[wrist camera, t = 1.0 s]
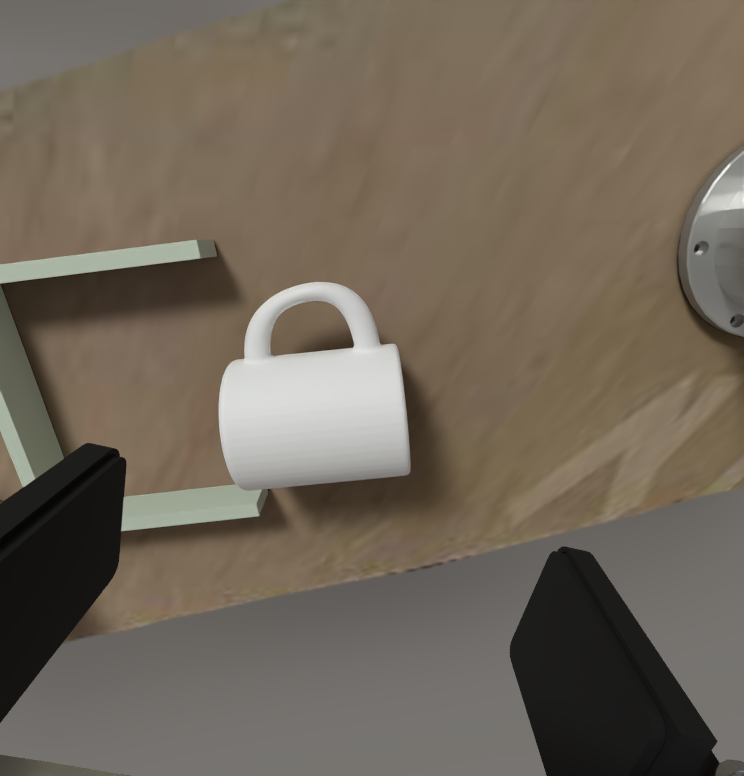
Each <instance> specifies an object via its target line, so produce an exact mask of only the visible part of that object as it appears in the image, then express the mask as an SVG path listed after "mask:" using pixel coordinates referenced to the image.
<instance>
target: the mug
mask: <svg viewBox="0 0 744 776" xmlns="http://www.w3.org/2000/svg"><path fill="white" fill-rule="evenodd" d="M309 301H325V302H328V303H331V304H333V305H334V306H335V307H337V308H338V309H339V310H340V312H341V313H342V314H343V316H344V317H345V319H346V321H347V323H348V326H349V328H350V331H351V334H352V338H353V342H354V347H353V348H345V349H336V350H326V351H316V352H307V353H297V354H287V355H277V356H273V355H272V354H271V352H270V342H271V333H272V329H273V326H274V323H275V321H276V320H277V318H278V317H279V315H280V314H281V313H282V312H283V311H285V310H286V309H288V308H290V307H292V306H294V305H297V304H300V303H304V302H309ZM244 354H245V358H244V359H239V360H234V361H233V362H231V363H230V364H229V365H228V367H227V368H226V370H225V373H224V375H223V379H222V383H221V388H220V395H219V428H220V437H221V444H222V449H223V454H224V458H225V461H226V464H227V467H228V470H229V473H230V475H231V477H232V479H233V480H234V482H235V483H236V484H237V486H238V487H240V488H241V489H243V490H246V491H251V490H262V489H272V488H282V487H293V486H303V485H313V484H324V483H334V482H344V481H354V480H365V479H375V478H385V477H396V476H406V475H408V474H409V473H410V469H411V463H410V444H409V432H408V421H407V411H406V401H405V392H404V384H403V376H402V369H401V362H400V356H399V351H398V347H397V346H396V345H395V344H385V345H381V344H380V340H379V335H378V331H377V328H376V324H375V321H374V319H373V316H372V314H371V312H370V310H369V308H368V307H367V305H366V304H365V302H364V301H363V300H362V299H361V298H360V297H359V296H358V295H357V294H356V293H355V292H353V291H352V290H350V289H348V288H347V287H344V286H342V285H339V284H335V283H329V282H312V283H306V284H301V285H297V286H294V287H291V288H288V289H286V290H283V291H281V292H279V293H278V294H276V295H274V296H273V297H271V298H270V299H268V300H267V301H266V302H265V303H264V304H263V305H262V306H261V307H260V308H259V309H258V310H257V311H256V313H255V314H254V316H253V317H252V319H251V321H250V323H249V326H248V328H247V332H246V337H245V347H244Z"/></svg>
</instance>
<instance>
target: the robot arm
mask: <svg viewBox="0 0 744 776" xmlns="http://www.w3.org/2000/svg"><path fill="white" fill-rule="evenodd" d="M678 261H679V275H680V279H681V282H682V286H683V290H684V292H685V294H686V296H687V298H688V300H689V302H690V304H691V306H692V307H693V308H694V309H695V310H696V312H697V313H698V314H699V315H700V316H701V317H702V318H703V319H704V320H705V321H707V322H708V323H710V324H711V325H712V326H714V327H715V328H718V329H720V330H722V331H725V332H727V333H730V334H733V335H737V336H742V337H744V145H743V146H742V147H740V148H739V149H738V150H737V151H735V152H734V153H733V154H731V155H730V156H729V157H727V158H726V159H725V160H724V162H723V163H722V164H721V165H720V166H719V167H718V168H717V169H716V170H715V171H714V172H713V173H712V174H711V175H710V177H709V178H708V179H707V181H706V182H705V184H704V185H703V187H702V188H701V189H700V191H699V192H698V194H697V195H696V198H695V200H694V202H693V204H692V206H691V208H690V210H689V212H688V214H687V216H686V220H685V223H684V226H683V229H682V232H681V237H680V245H679V252H678ZM125 475H126V460H125V458H122V457H120V454H119V451H118V450H117V449H114V448H110V447H105V446H101V445H96V444H91V443H86V444H84V445H83V446H81V447H80V448H78V449H77V450H76V451H74V452H73V453H71V454H70V455H68V456H67V457H66V458H64V459H63V460H61V461H60V462H59V463H57V464H56V465H54V466H53V467H52V468H50V469H49V470H47V471H46V472H44V473H43V474H42V475H40V476H39V477H37V478H36V479H35V480H33V481H32V482H30V483H29V484H28V485H26V486H25V487H23V488H22V489H20V490H19V491H18V492H16V493H15V494H13V495H12V496H11V497H9V498H8V499H6V500H5V501H4V502H2V503H1V504H0V722H1V721H2V720H3V718H4V717H5V716H6V715H7V714H8V712H9V711H10V710H11V708H12V707H13V706H14V705H15V703H16V702H17V701H18V699H19V698H20V697H21V696H22V694H23V693H24V691H25V690H26V689H27V688H28V686H29V685H30V684H31V683H32V681H33V680H34V679H35V677H36V676H37V675H38V674H39V672H40V671H41V670H42V668H43V667H44V666H45V665H46V663H47V662H48V660H49V659H50V658H51V657H52V656H53V654H54V653H55V652H56V650H57V649H58V648H59V647H60V645H61V644H62V643H63V641H64V640H65V639H66V638H67V636H68V635H69V634H70V632H71V631H72V630H73V629H74V627H75V626H76V625H77V623H78V622H79V621H80V620H81V618H82V617H83V616H84V614H85V613H86V612H87V611H88V609H89V608H90V607H91V605H92V604H93V603H94V602H95V600H96V599H97V598H98V596H99V595H100V594H101V593H102V591H103V590H104V589H105V587H106V586H107V585H108V583H109V582H110V581H111V579H112V578H113V576H114V574H115V572H116V570H117V567H118V563H119V553H120V540H121V527H122V514H123V501H124V488H125ZM510 658H511V662H512V665H513V669H514V672H515V675H516V678H517V682H518V685H519V688H520V691H521V694H522V698H523V701H524V704H525V707H526V710H527V714H528V717H529V720H530V723H531V727H532V730H533V733H534V736H535V739H536V743H537V746H538V749H539V752H540V756H541V759H542V762H543V765H544V768H545V772H546V775H547V776H744V762H742V761H737V760H726V761H723V762H721V763H719V762H718V760H717V758H716V757H715V755H714V754H713V753H712V751H711V750H712V749H713V747H714V746H715V745H716V743H717V740H716V739H715V737H714V736H713V734H712V733H711V731H710V730H709V728H708V727H707V725H706V724H705V722H704V721H703V719H702V718H701V716H700V715H699V713H698V712H697V710H696V709H695V707H694V706H693V704H692V703H691V701H690V700H689V698H688V697H687V695H686V694H685V692H684V691H683V689H682V688H681V686H680V685H679V683H678V682H677V680H676V679H675V677H674V676H673V674H672V673H671V671H670V670H669V668H668V667H667V666H666V664H665V662H664V661H663V659H662V658H661V657H660V655H659V653H658V652H657V650H656V649H655V647H654V646H653V644H652V643H651V642H650V640H649V638H648V637H647V636H646V634H645V633H644V631H643V629H642V628H641V626H640V625H639V623H638V622H637V621H636V619H635V618H634V616H633V614H632V613H631V612H630V610H629V609H628V607H627V606H626V604H625V603H624V601H623V600H622V598H621V597H620V595H619V594H618V592H617V591H616V589H615V588H614V586H613V585H612V583H611V582H610V580H609V579H608V577H607V576H606V574H605V573H604V571H603V570H602V568H601V567H600V565H599V564H598V562H597V561H596V559H595V558H594V556H593V555H592V554H591V553H590V552H587V551H583V550H578V549H574V548H569V547H561V548H560V549H558V551H557V552H556V551H554V552H552V553H551V554H550V555H549V557H548V559H547V561H546V564H545V566H544V568H543V570H542V573H541V575H540V577H539V580H538V582H537V584H536V586H535V589H534V591H533V593H532V595H531V598H530V600H529V602H528V605H527V607H526V609H525V611H524V614H523V616H522V618H521V620H520V623H519V625H518V627H517V629H516V632H515V634H514V636H513V639H512V641H511V645H510ZM0 776H129V775H123V774H117V773H110V772H105V771H98V770H92V769H87V768H80V767H75V766H69V765H63V764H57V763H51V762H45V761H38V760H32V759H25V758H18V757H11V756H5V755H0Z"/></svg>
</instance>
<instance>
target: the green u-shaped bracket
mask: <svg viewBox="0 0 744 776" xmlns="http://www.w3.org/2000/svg"><path fill="white" fill-rule="evenodd" d="M209 257H217V253H216V249H215V244H214V240H192V241H184V242H176V243H168V244H160V245H152V246H144V247H136V248H128V249H120V250H112V251H104V252H96V253H89V254H81V255H73V256H65V257H57V258H49V259H41V260H33V261H25V262H17V263H9V264H1V265H0V283H8V282H16V281H24V280H32V279H40V278H48V277H56V276H64V275H72V274H80V273H88V272H96V271H104V270H112V269H120V268H128V267H136V266H144V265H152V264H160V263H168V262H177V261H185V260H193V259H201V258H209ZM0 431H1V434H2V436H3V439H4V441H5V444H6V446H7V449H8V451H9V454H10V456H11V459H12V461H13V463H14V466H15V468H16V471H17V473H18V476H19V478H20V481H21V483H22V486H23V487H25V486H26V485H28V484H29V483H30V482H32V481H33V480H35V479H36V478H37V477H39V476H40V475H42V474H43V473H44V472H46V471H47V470H49V469H50V468H52V467H53V466H54V465H56V464H57V463H59V462H60V461H61V460H63V459H64V457H63V454H62V451H61V448H60V446H59V443H58V440H57V437H56V435H55V432H54V429H53V426H52V424H51V421H50V418H49V416H48V413H47V410H46V407H45V405H44V402H43V399H42V396H41V394H40V391H39V388H38V385H37V383H36V380H35V377H34V374H33V372H32V369H31V366H30V364H29V361H28V358H27V355H26V353H25V350H24V347H23V344H22V342H21V339H20V336H19V333H18V331H17V328H16V325H15V322H14V320H13V317H12V314H11V311H10V309H9V306H8V303H7V301H6V298H5V295H4V292H3V290H2V287H1V284H0ZM267 495H268V489H262V490H251V491H246V490H243V489H241V488H240V487H238V486H237V484H234V485H225V486H216V487H207V488H198V489H189V490H180V491H171V492H162V493H153V494H144V495H135V496H126V497H124V501H123V514H122V527H121V531H128V530H137V529H147V528H156V527H165V526H174V525H183V524H192V523H201V522H211V521H220V520H229V519H238V518H247V517H256V516H259V515H260V513H261V510H262V508H263V505H264V502H265V500H266V497H267Z"/></svg>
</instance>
